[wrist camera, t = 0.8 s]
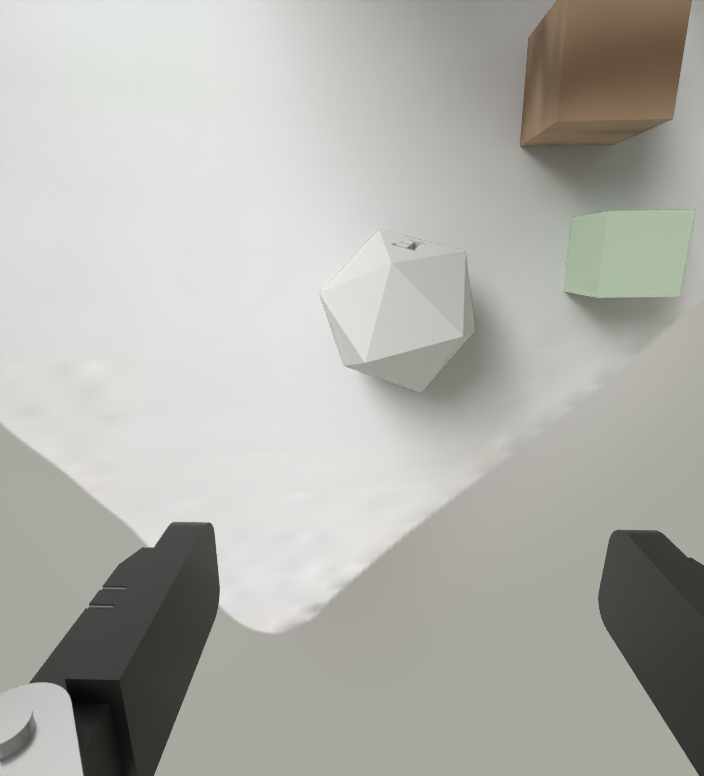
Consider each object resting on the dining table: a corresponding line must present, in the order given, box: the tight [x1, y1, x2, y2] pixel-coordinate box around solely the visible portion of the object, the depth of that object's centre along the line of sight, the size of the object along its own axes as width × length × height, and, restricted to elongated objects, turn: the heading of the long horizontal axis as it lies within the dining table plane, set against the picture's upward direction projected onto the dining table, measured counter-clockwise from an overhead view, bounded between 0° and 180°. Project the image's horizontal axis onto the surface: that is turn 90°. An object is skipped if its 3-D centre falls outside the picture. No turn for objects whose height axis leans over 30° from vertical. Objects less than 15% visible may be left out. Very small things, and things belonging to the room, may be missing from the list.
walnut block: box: [520, 0, 692, 146], centre depth 24 cm, size 6×6×6 cm
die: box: [319, 230, 475, 393], centre depth 27 cm, size 8×9×10 cm
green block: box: [564, 209, 696, 298], centre depth 27 cm, size 4×4×4 cm
